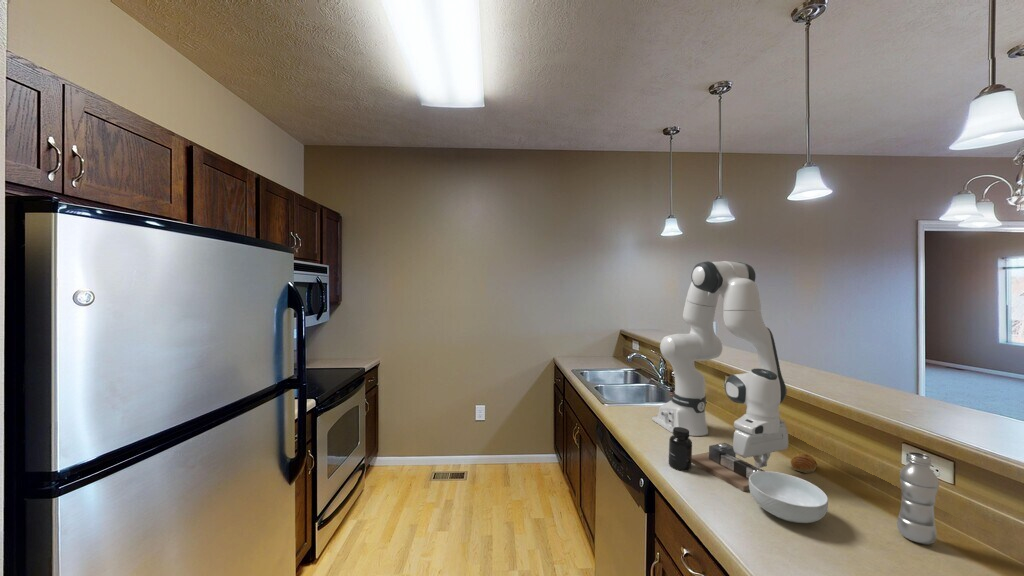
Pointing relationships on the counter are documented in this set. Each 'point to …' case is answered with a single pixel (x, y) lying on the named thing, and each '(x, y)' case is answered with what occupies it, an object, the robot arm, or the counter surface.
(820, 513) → the cereal bowl
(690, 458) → the supplement bottle
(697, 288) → the robot arm
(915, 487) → the plastic bottle
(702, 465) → the walnut board
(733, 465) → the fixed tong arm
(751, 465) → the loose tong arm
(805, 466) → the pastry
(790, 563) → the counter surface
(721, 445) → the tong hinge
